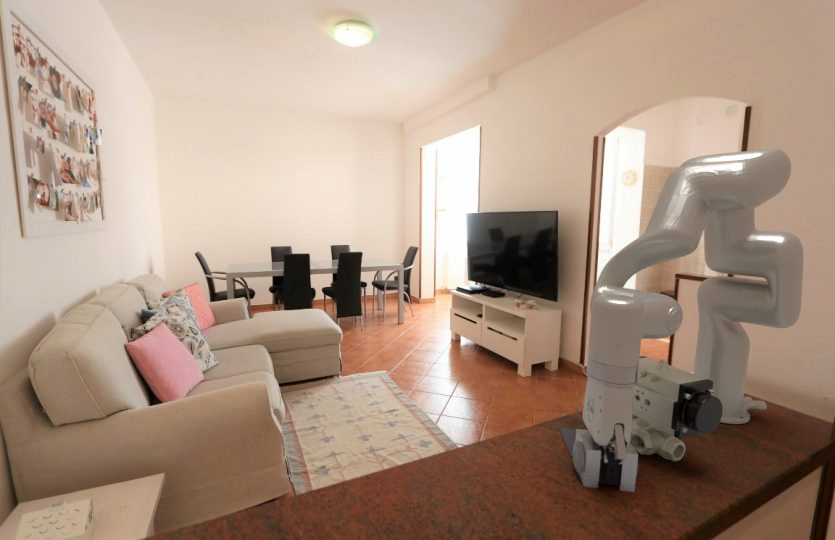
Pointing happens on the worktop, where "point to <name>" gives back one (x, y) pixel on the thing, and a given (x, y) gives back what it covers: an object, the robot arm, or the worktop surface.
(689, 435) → the ball valve
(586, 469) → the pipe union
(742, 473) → the worktop surface
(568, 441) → the joint mat
